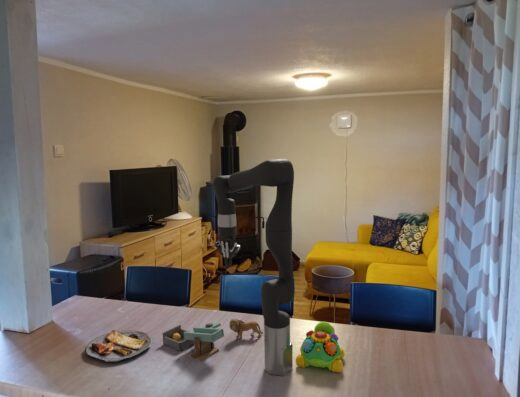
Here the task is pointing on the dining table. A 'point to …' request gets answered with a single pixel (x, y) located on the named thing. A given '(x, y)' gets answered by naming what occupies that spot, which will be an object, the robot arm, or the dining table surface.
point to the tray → (175, 344)
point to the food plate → (118, 344)
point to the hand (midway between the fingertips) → (228, 265)
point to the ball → (176, 337)
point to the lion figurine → (244, 327)
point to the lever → (206, 333)
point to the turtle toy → (321, 349)
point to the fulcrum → (203, 349)
